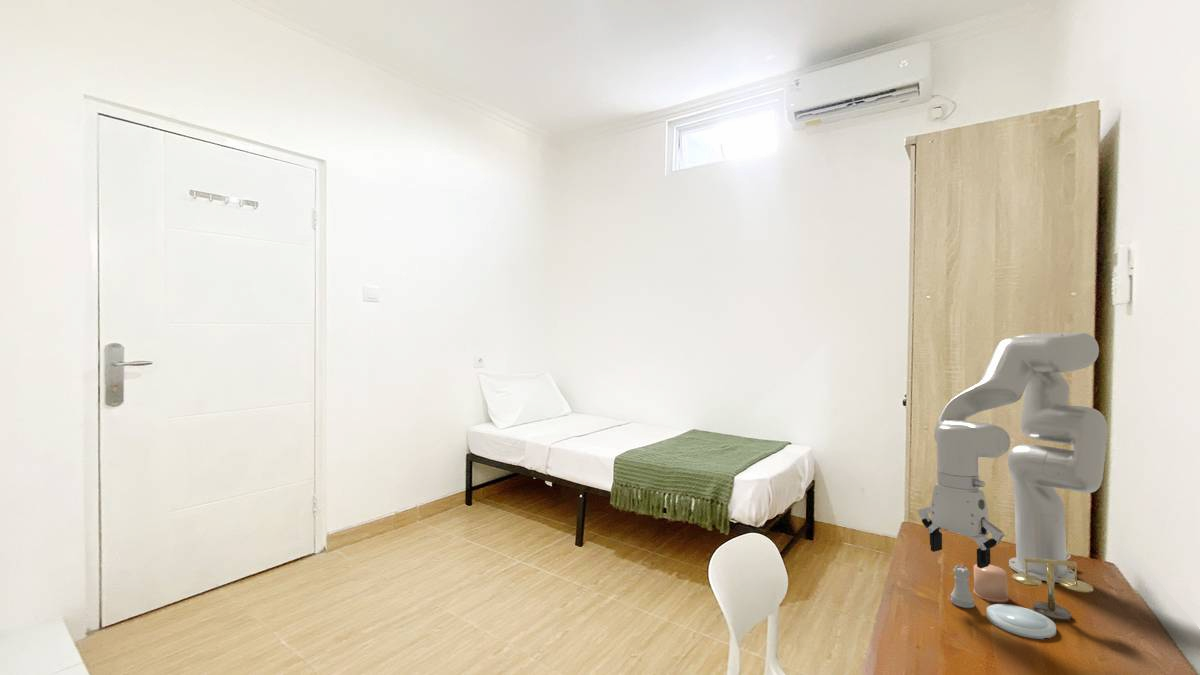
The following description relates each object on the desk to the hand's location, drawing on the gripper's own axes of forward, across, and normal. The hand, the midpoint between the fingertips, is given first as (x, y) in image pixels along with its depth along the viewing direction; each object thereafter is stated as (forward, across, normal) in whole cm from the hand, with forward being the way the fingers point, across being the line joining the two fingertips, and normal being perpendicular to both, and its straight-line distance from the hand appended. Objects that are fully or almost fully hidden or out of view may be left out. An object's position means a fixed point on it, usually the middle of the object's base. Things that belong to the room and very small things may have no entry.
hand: (958, 558), depth 112 cm
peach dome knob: (+10, -1, -10) cm, 15 cm away
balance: (+10, -11, -13) cm, 20 cm away
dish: (+10, -10, -3) cm, 15 cm away
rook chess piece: (+10, 0, -1) cm, 11 cm away
